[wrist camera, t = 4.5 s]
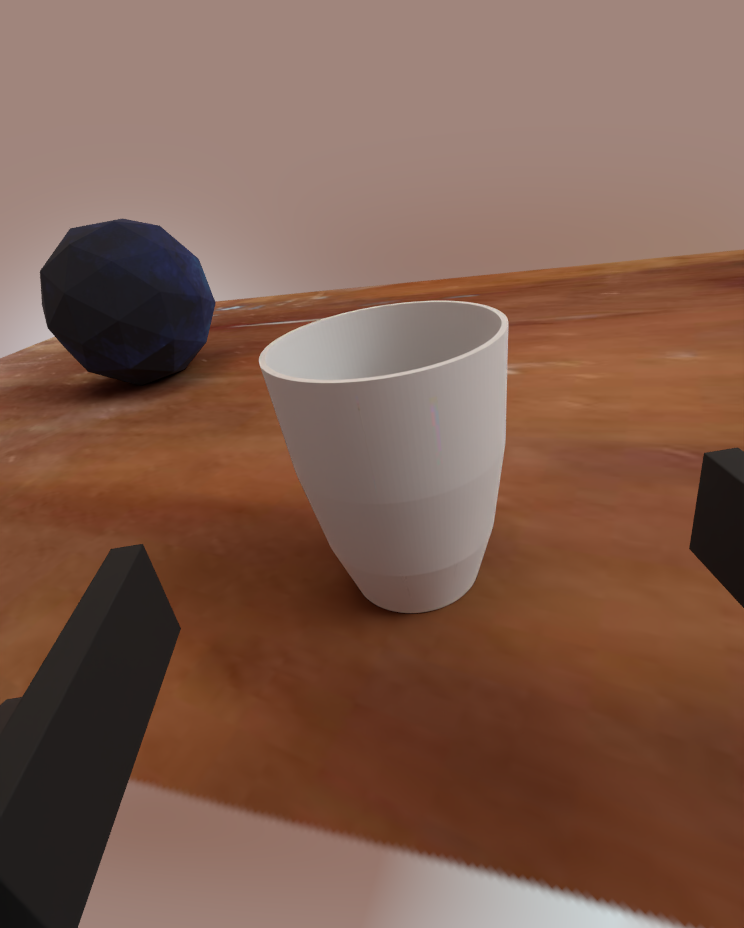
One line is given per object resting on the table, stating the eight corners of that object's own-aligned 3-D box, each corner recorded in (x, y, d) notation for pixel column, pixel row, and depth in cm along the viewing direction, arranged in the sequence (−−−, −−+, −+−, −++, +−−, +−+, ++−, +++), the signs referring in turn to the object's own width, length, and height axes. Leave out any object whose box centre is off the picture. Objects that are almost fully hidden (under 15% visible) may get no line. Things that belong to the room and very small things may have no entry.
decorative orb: (140, 300, 62) (29, 193, 49) (256, 287, 57) (169, 164, 44) (102, 412, 57) (-33, 325, 44) (227, 408, 52) (118, 308, 39)
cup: (530, 522, 24) (526, 294, 19) (495, 666, 18) (475, 380, 13) (364, 506, 27) (326, 307, 23) (284, 623, 21) (207, 381, 16)
